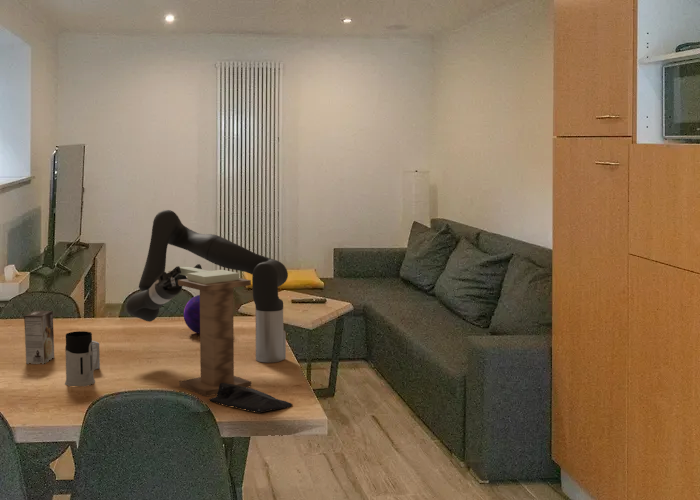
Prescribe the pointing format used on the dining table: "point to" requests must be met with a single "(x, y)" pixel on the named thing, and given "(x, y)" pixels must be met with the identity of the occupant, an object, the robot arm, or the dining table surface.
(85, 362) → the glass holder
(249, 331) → the dining table surface
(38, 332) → the coffee box
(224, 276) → the paddle board
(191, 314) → the decorative orb
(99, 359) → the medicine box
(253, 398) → the black folded cloth
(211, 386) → the walnut stand
